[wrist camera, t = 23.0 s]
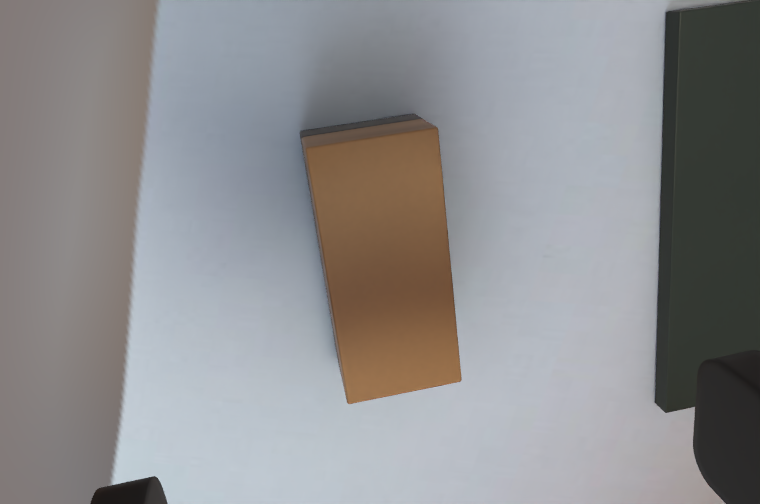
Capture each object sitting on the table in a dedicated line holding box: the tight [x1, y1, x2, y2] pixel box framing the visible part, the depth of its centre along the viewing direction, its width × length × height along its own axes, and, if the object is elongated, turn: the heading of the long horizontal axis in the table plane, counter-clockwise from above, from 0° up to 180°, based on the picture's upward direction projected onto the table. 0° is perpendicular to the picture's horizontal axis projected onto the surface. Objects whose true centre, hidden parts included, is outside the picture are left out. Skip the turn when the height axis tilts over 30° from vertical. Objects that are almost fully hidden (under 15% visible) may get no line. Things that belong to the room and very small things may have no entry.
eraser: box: [300, 114, 461, 404], centre depth 28 cm, size 11×5×4 cm, turn 7°
